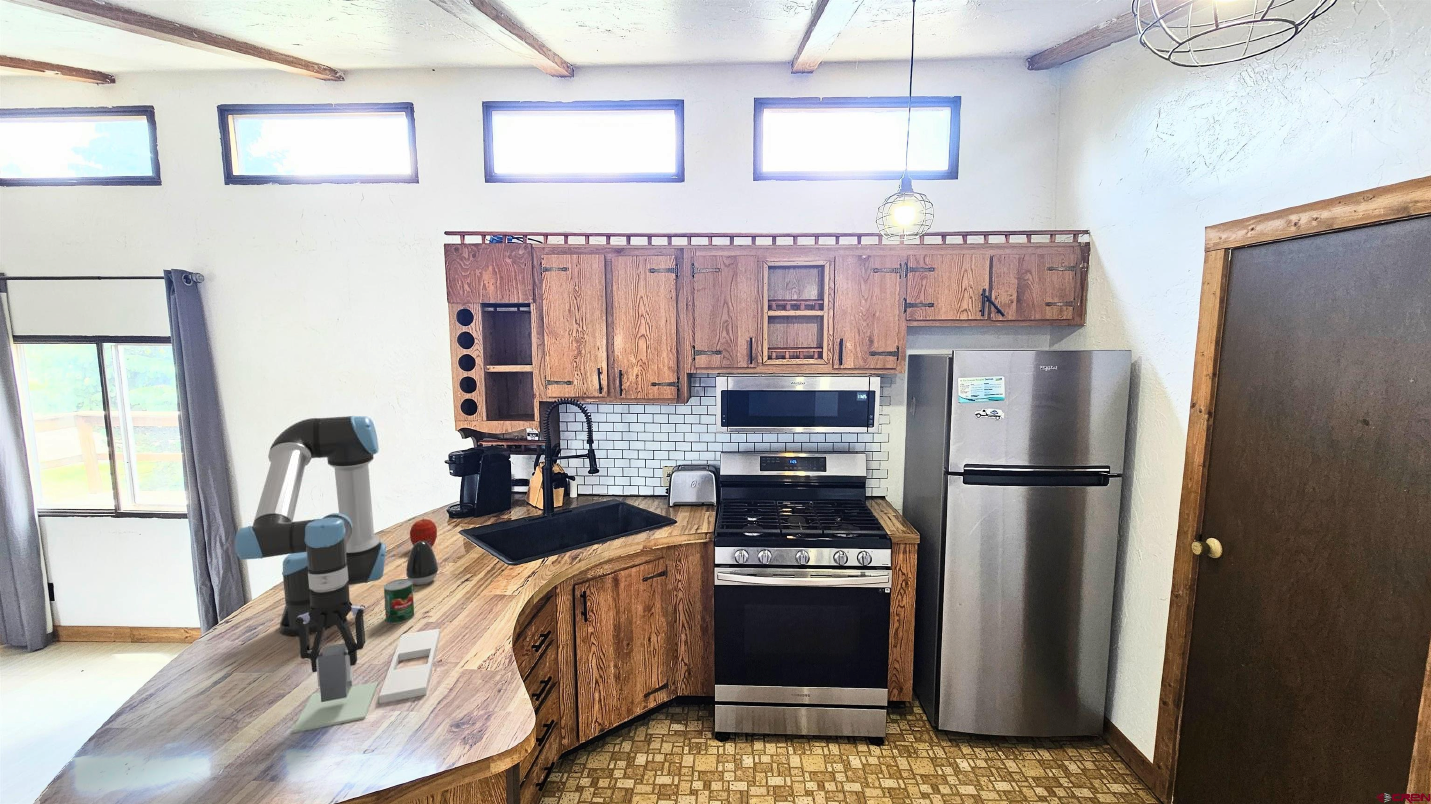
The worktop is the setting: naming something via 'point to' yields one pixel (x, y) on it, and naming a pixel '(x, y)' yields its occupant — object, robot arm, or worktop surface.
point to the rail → (414, 677)
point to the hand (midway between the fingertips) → (336, 680)
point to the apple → (423, 531)
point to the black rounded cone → (421, 563)
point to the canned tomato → (399, 601)
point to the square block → (333, 673)
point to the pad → (336, 708)
